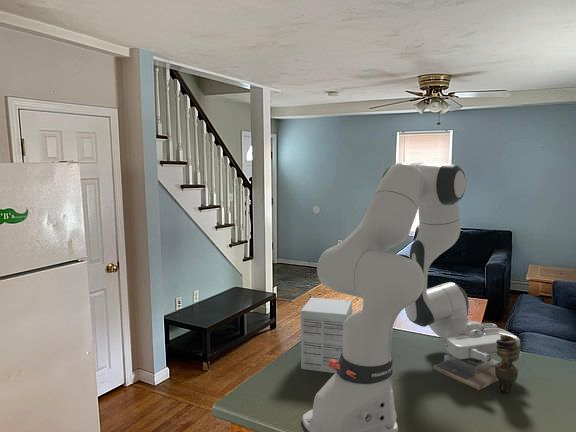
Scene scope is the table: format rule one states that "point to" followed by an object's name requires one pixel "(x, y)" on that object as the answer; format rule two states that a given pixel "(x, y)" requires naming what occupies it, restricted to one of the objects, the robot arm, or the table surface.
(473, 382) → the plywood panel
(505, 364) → the light bulb
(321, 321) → the supplement box
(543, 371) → the table surface
